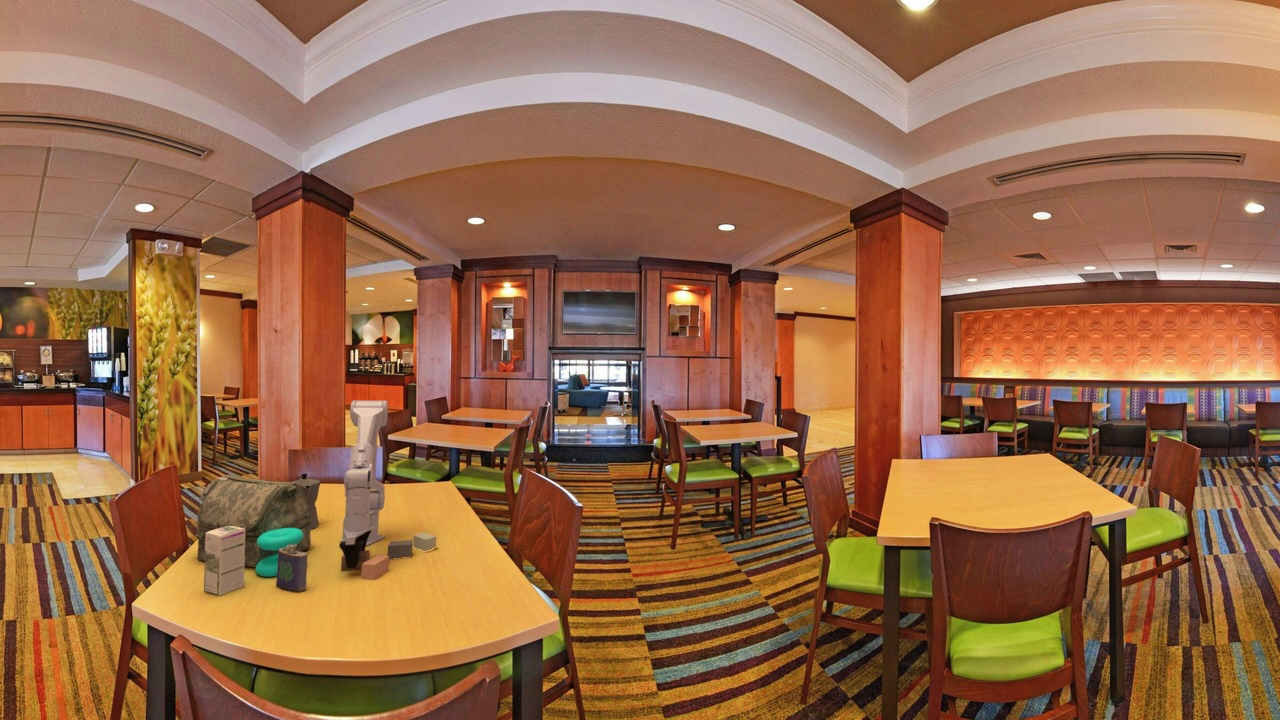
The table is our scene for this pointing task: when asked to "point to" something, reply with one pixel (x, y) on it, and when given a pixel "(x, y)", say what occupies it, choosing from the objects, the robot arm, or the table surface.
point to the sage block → (424, 541)
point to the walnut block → (362, 558)
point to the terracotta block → (375, 567)
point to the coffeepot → (310, 496)
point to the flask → (291, 569)
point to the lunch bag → (253, 512)
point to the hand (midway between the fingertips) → (355, 561)
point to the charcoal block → (399, 549)
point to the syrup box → (224, 560)
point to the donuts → (275, 548)
